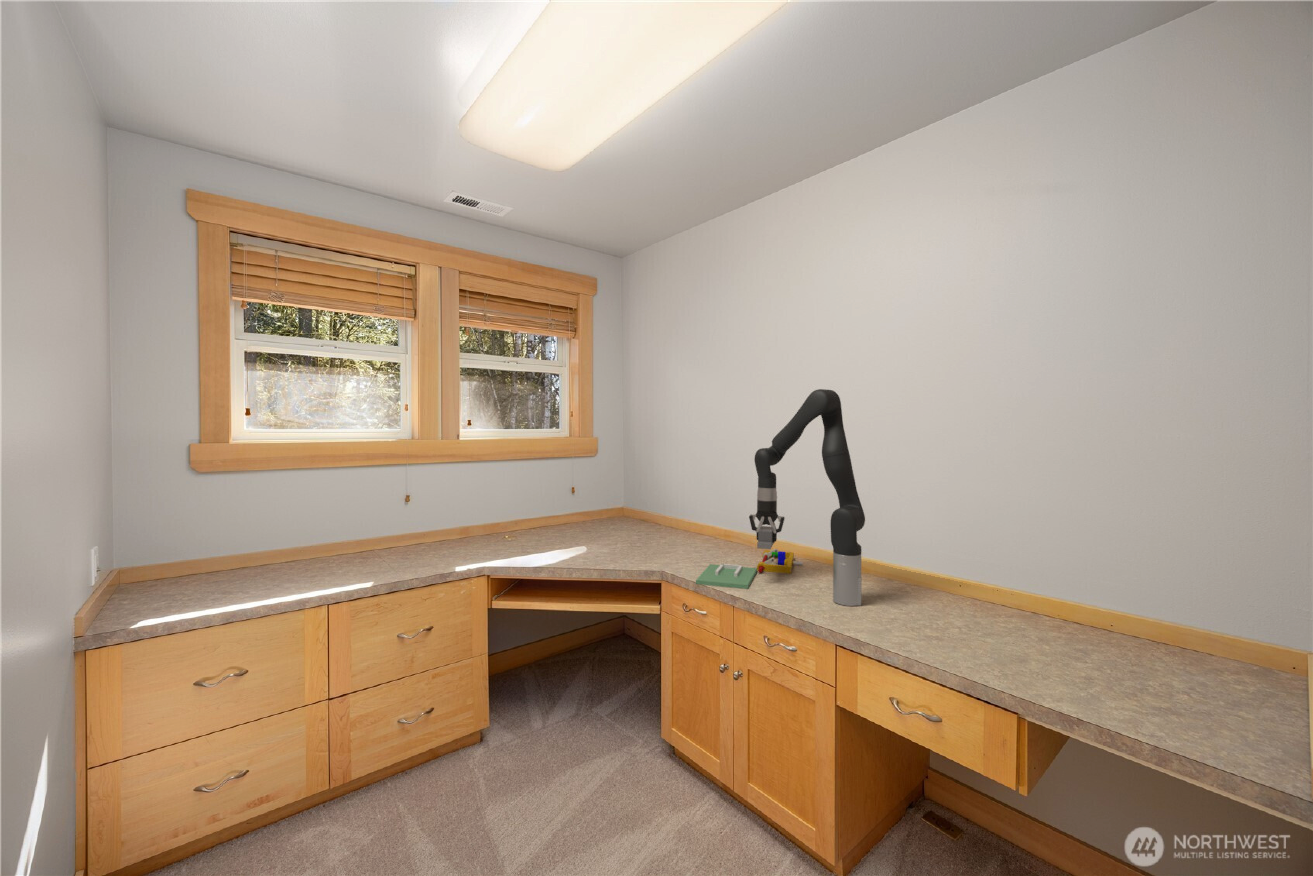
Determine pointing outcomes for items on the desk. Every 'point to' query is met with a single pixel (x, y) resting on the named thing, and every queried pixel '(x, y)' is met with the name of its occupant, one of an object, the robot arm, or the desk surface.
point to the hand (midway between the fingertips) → (766, 541)
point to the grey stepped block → (765, 538)
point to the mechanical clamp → (783, 562)
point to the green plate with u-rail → (727, 576)
